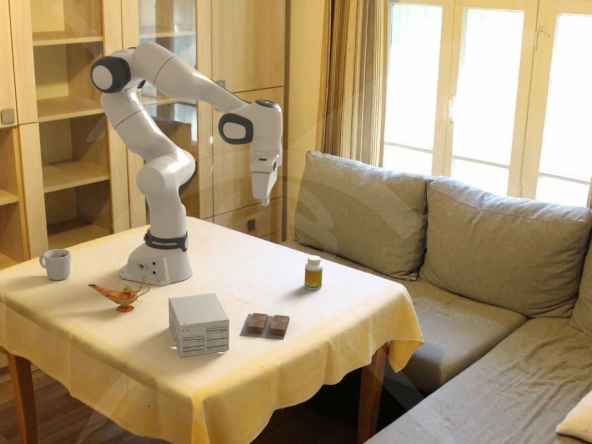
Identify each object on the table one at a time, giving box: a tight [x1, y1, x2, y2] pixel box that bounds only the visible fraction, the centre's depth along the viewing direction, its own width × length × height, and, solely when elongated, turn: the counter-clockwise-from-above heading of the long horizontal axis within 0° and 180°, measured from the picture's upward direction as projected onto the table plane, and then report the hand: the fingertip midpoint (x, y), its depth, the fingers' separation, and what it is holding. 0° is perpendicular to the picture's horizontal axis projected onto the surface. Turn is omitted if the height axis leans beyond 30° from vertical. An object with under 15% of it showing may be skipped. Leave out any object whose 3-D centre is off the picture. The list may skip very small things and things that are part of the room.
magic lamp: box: [87, 275, 151, 314], centre depth 214 cm, size 7×18×11 cm, turn 85°
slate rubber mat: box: [239, 313, 291, 341], centre depth 208 cm, size 12×13×1 cm
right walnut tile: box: [270, 314, 290, 336], centre depth 206 cm, size 4×2×8 cm
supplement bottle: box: [304, 255, 324, 291], centre depth 233 cm, size 5×5×10 cm
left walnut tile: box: [248, 312, 269, 334], centre depth 207 cm, size 4×2×8 cm
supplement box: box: [167, 293, 230, 358], centre depth 199 cm, size 17×13×9 cm
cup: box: [39, 248, 72, 281], centre depth 233 cm, size 11×8×8 cm
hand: (265, 204), depth 216 cm, fingers closed
